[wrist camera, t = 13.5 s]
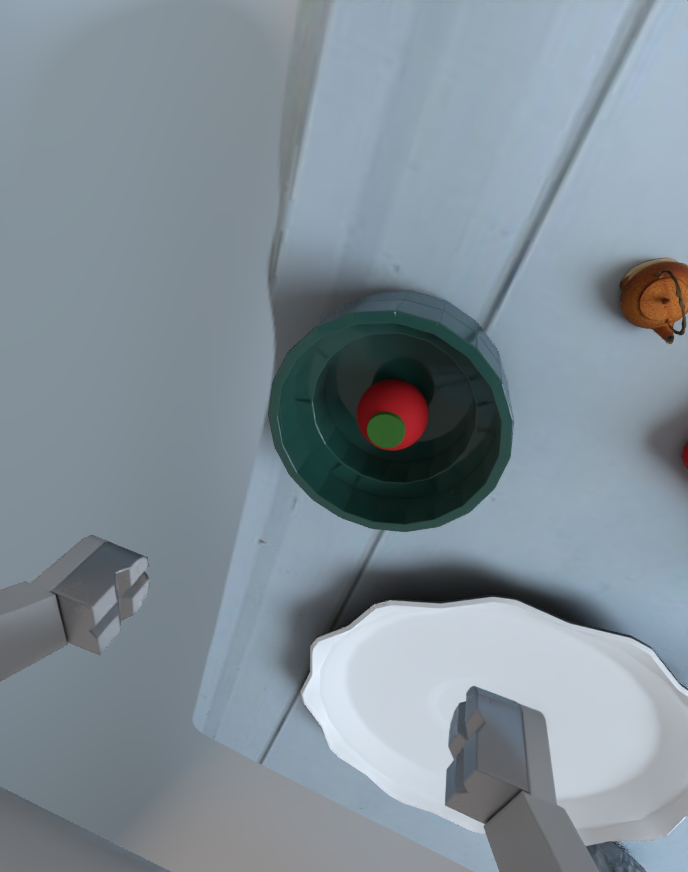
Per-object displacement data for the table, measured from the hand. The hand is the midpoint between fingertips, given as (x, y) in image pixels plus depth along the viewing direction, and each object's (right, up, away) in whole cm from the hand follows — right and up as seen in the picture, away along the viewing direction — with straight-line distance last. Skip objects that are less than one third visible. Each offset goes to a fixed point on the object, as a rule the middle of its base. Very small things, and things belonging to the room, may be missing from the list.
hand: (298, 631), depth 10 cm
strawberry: (+4, +7, +13) cm, 15 cm away
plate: (+13, -17, +24) cm, 32 cm away
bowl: (+4, +7, +13) cm, 16 cm away
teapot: (+14, +11, +8) cm, 20 cm away
